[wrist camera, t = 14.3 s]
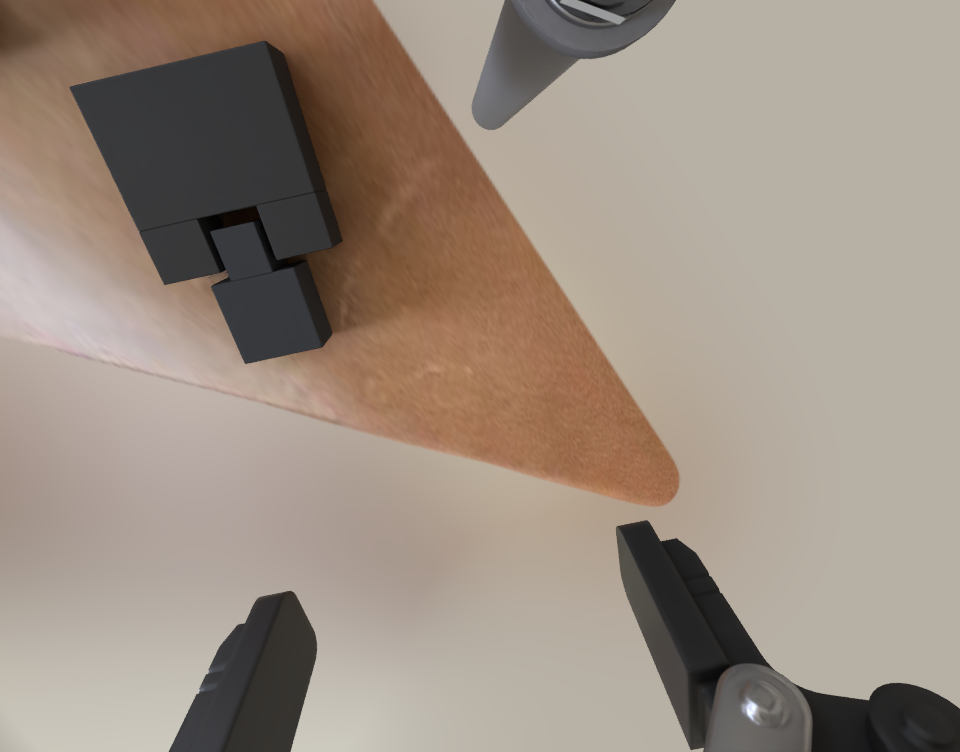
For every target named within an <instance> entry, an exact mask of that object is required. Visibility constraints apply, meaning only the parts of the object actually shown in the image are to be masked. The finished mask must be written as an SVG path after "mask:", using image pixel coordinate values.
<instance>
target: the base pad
mask: <svg viewBox="0 0 960 752" xmlns="http://www.w3.org/2000/svg"><path fill="white" fill-rule="evenodd" d="M70 90H71V92H72V94H73V96H74V98H75V100H76V102H77V104H78V106H79V108H80V110H81V112H82V115H83V117H84V119H85V121H86V123H87V125H88V127H89V129H90V131H91V133H92V135H93V137H94V139H95V141H96V144H97V146H98V148H99V150H100V152H101V154H102V156H103V158H104V160H105V162H106V164H107V166H108V168H109V170H110V172H111V175H112V177H113V179H114V181H115V183H116V185H117V187H118V189H119V191H120V193H121V195H122V197H123V199H124V201H125V204H126V206H127V208H128V210H129V212H130V214H131V216H132V218H133V220H134V222H135V224H136V226H137V228H138V230H139V231H141V232H139V233H140V235H141V237H142V240H143V242H144V244H145V246H146V248H147V250H148V252H149V254H150V256H151V258H152V260H153V262H154V264H155V266H156V268H157V271H158V273H159V275H160V277H161V279H162V281H163V283H164V285H167V284H171V283H176V282H180V281H185V280H190V279H194V278H199V277H203V276H208V275H212V274H217V273H220V272H223V271H225V270H226V268H225V266H224V263H223V261H222V259H221V256H220V254H219V252H218V249H217V247H216V244H215V242H214V240H213V237H212V235H211V233H210V232H211V231H214V230H218V229H222V228H224V227H223V224H222V222H221V219H220V217H219V215H220V214H224V213H228V212H233V211H237V210H242V209H246V208H251V207H255V206H257V209H258V212H259V214H260V217H261V220H262V222H263V225H264V228H265V230H266V233H267V236H268V238H269V241H270V244H271V246H272V249H273V252H274V254H275V257H276V259H277V260H280V259H284V258H289V257H293V256H298V255H302V254H307V253H311V252H316V251H320V250H325V249H329V248H333V247H334V246H336V245H337V244H339V243H341V242H342V241H343V240H342V237H341V234H340V231H339V228H338V225H337V221H336V218H335V215H334V212H333V209H332V206H331V202H330V199H329V196H328V193H327V191H325V190H326V187H325V184H324V181H323V178H322V174H321V171H320V168H319V165H318V162H317V159H316V155H315V152H314V149H313V146H312V143H311V139H310V136H309V133H308V130H307V127H306V124H305V120H304V117H303V114H302V111H301V108H300V105H299V101H298V98H297V95H296V92H295V89H294V86H293V82H292V79H291V76H290V73H289V70H288V67H287V63H286V60H285V57H284V54H283V53H282V52H281V51H279V50H278V49H277V48H275V47H274V46H272V45H271V44H269V43H268V42H267V41H261V42H257V43H253V44H248V45H244V46H240V47H236V48H231V49H227V50H223V51H219V52H215V53H210V54H206V55H202V56H198V57H193V58H189V59H185V60H181V61H176V62H172V63H168V64H164V65H159V66H155V67H151V68H147V69H142V70H138V71H134V72H130V73H125V74H121V75H117V76H113V77H109V78H104V79H100V80H96V81H92V82H87V83H83V84H79V85H75V86H71V87H70Z"/></svg>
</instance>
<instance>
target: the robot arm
mask: <svg viewBox="0 0 960 752" xmlns="http://www.w3.org/2000/svg"><path fill="white" fill-rule="evenodd" d="M545 1H546V3H547V4H548V5H549V6H550V7H551V9H552V10H553V11H554V12H555V13H557V14H558V15H559V16H560V17H562V18H563V19H564V20H566V21H568V22H569V23H571V24H574V25H576V26H579V27H582V28H587V29H606V28H611V27H615V26H618V25H620V24H623V23H625V22H627V21H628V20H630V19H632V18H633V17H635V16H636V15H638V14H639V13H640V12H641V11H642V10H644V9H645V8H646V7H647V6H648V5H649V4H650V3H651V2H652V1H653V0H545ZM616 535H617V544H618V553H619V561H620V571H621V576H622V581H623V585H624V588H625V592H626V595H627V597H628V600H629V603H630V605H631V607H632V610H633V612H634V615H635V617H636V619H637V622H638V624H639V627H640V629H641V631H642V634H643V636H644V638H645V641H646V643H647V646H648V648H649V651H650V653H651V656H652V658H653V660H654V662H655V665H656V668H657V670H658V672H659V675H660V677H661V679H662V682H663V684H664V687H665V689H666V691H667V694H668V696H669V699H670V701H671V704H672V706H673V708H674V711H675V713H676V715H677V718H678V721H679V723H680V725H681V727H682V730H683V733H684V735H685V737H686V740H687V742H688V744H689V747H690V749H691V750H693V749H699V748H704V751H703V752H960V709H959V708H958V707H957V706H955V705H954V704H953V703H951V702H950V701H948V700H947V699H945V698H943V697H941V696H939V695H938V694H935V693H934V692H931V691H929V690H927V689H924V688H921V687H918V686H915V685H910V684H904V683H890V684H885V685H882V686H880V687H878V688H877V689H876V690H875V691H873V693H872V695H871V696H870V699H869V700H862V699H855V698H848V697H841V696H834V695H827V694H821V693H816V692H813V691H810V690H807V689H804V688H802V687H800V686H797V685H796V684H794V683H792V682H791V681H790V680H789V679H787V678H786V677H784V676H783V675H782V674H780V673H778V672H777V671H775V670H774V669H773V668H772V667H771V666H770V665H769V664H768V663H767V662H766V660H765V659H764V658H763V656H762V655H761V653H760V652H759V650H758V649H757V647H756V646H755V644H754V642H753V641H752V639H751V638H750V636H749V635H748V633H747V632H746V630H745V628H744V627H743V625H742V624H741V622H740V621H739V619H738V618H737V616H736V615H735V613H734V611H733V610H732V608H731V607H730V605H729V604H728V602H727V601H726V599H725V598H724V596H723V594H722V593H720V591H719V588H718V587H717V585H716V583H715V582H714V580H713V579H712V577H711V576H709V573H708V571H707V569H706V568H705V566H704V565H703V563H702V562H701V560H700V559H699V557H698V556H697V554H696V553H695V552H694V551H693V550H691V549H690V548H688V547H687V546H686V545H685V544H683V543H682V542H681V541H679V540H678V539H677V538H676V539H671V540H666V541H660V540H659V538H658V536H657V534H656V533H655V531H654V529H653V527H652V526H651V525H650V523H649V522H648V521H647V520H646V521H640V522H636V523H631V524H626V525H621V526H617V527H616ZM316 654H317V642H316V636H315V632H314V630H313V628H312V626H311V624H310V622H309V620H308V618H307V616H306V614H305V612H304V610H303V608H302V606H301V604H300V602H299V600H298V598H297V597H296V595H295V594H294V592H292V591H287V592H282V593H277V594H272V595H267V596H262V597H259V598H258V599H257V600H256V601H255V603H254V605H253V607H252V609H251V612H250V614H249V616H248V618H247V620H246V623H245V624H239V625H237V626H236V628H235V629H234V630H233V631H232V632H231V634H230V635H229V636H228V637H227V639H226V640H225V641H224V642H223V643H222V644H221V646H220V647H219V649H218V651H217V653H216V655H215V657H214V659H213V662H212V664H211V666H210V668H209V673H208V674H206V676H205V678H204V680H203V682H202V684H201V687H200V688H199V690H200V691H199V694H197V695H196V697H195V699H194V701H193V703H192V705H191V707H190V709H189V711H188V713H187V715H186V717H185V719H184V722H183V724H182V726H181V728H180V730H179V732H178V734H177V736H176V738H175V740H174V742H173V744H172V746H171V748H170V750H169V752H290V751H291V748H292V744H293V740H294V737H295V732H296V729H297V726H298V722H299V718H300V715H301V711H302V707H303V704H304V700H305V697H306V693H307V689H308V685H309V682H310V678H311V675H312V671H313V668H314V664H315V660H316Z"/></svg>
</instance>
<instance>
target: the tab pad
mask: <svg viewBox="0 0 960 752" xmlns="http://www.w3.org/2000/svg"><path fill="white" fill-rule="evenodd" d="M210 233H211V235H212V237H213V240H214V242H215V244H216V247H217V249H218V252H219V254H220V256H221V259H222V261H223V263H224V266H225V268H226V270H227V273H228V275H229V278H227V279H224V280H222V281H220V282H218V283H216V284H214V285H212V286H211V288H212V290H213V293H214V295H215V297H216V299H217V302H218V304H219V306H220V308H221V311H222V313H223V315H224V317H225V320H226V322H227V324H228V326H229V329H230V331H231V333H232V336H233V338H234V340H235V342H236V345H237V347H238V349H239V351H240V354H241V356H242V358H243V360H244V363H245V364H247V363H252V362H257V361H261V360H266V359H271V358H275V357H280V356H284V355H289V354H294V353H298V352H303V351H308V350H312V349H317V348H321V347H323V346H324V344H325V343H326V342H327V340H328V339H329V338H330V336H331V335H332V331H331V329H330V326H329V323H328V320H327V317H326V314H325V312H324V309H323V306H322V303H321V300H320V297H319V294H318V292H317V289H316V286H315V283H314V280H313V277H312V275H311V272H310V269H309V266H308V263H307V261H306V260H303V261H299V262H294V263H290V264H287V262H286V260H285V258H284V259H280V260H277V259H276V257H275V254H274V252H273V249H272V246H271V244H270V241H269V238H268V236H267V233H266V230H265V228H264V225H263V222H262V220H256V221H252V222H247V223H243V224H239V225H234V226H230V227H226V228H222V229H218V230H214V231H211V232H210Z"/></svg>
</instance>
